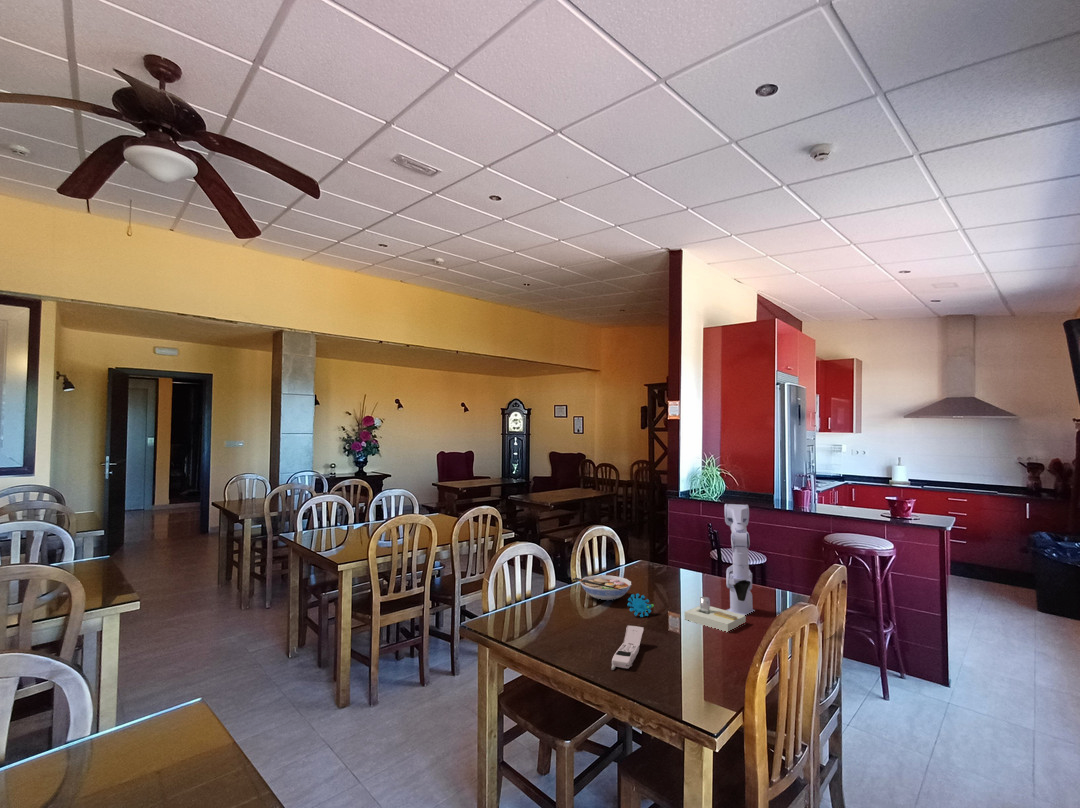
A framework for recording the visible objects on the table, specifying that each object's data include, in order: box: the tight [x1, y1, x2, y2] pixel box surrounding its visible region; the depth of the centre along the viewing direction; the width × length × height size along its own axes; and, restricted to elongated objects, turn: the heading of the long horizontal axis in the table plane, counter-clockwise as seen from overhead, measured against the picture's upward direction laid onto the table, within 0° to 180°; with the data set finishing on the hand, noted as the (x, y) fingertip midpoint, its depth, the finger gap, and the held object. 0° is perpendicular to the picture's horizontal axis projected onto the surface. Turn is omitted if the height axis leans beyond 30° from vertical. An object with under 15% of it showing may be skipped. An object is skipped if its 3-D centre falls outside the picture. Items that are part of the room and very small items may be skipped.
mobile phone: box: [610, 625, 645, 671], centre depth 168 cm, size 6×6×25 cm
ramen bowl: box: [572, 574, 632, 601], centre depth 228 cm, size 25×23×8 cm
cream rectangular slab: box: [684, 605, 747, 633], centre depth 200 cm, size 14×18×3 cm
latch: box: [714, 612, 737, 620], centre depth 197 cm, size 8×3×1 cm, turn 42°
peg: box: [699, 596, 711, 614], centre depth 203 cm, size 4×4×8 cm
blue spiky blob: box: [627, 592, 654, 618], centre depth 209 cm, size 11×6×10 cm
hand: (741, 600), depth 196 cm, fingers closed
